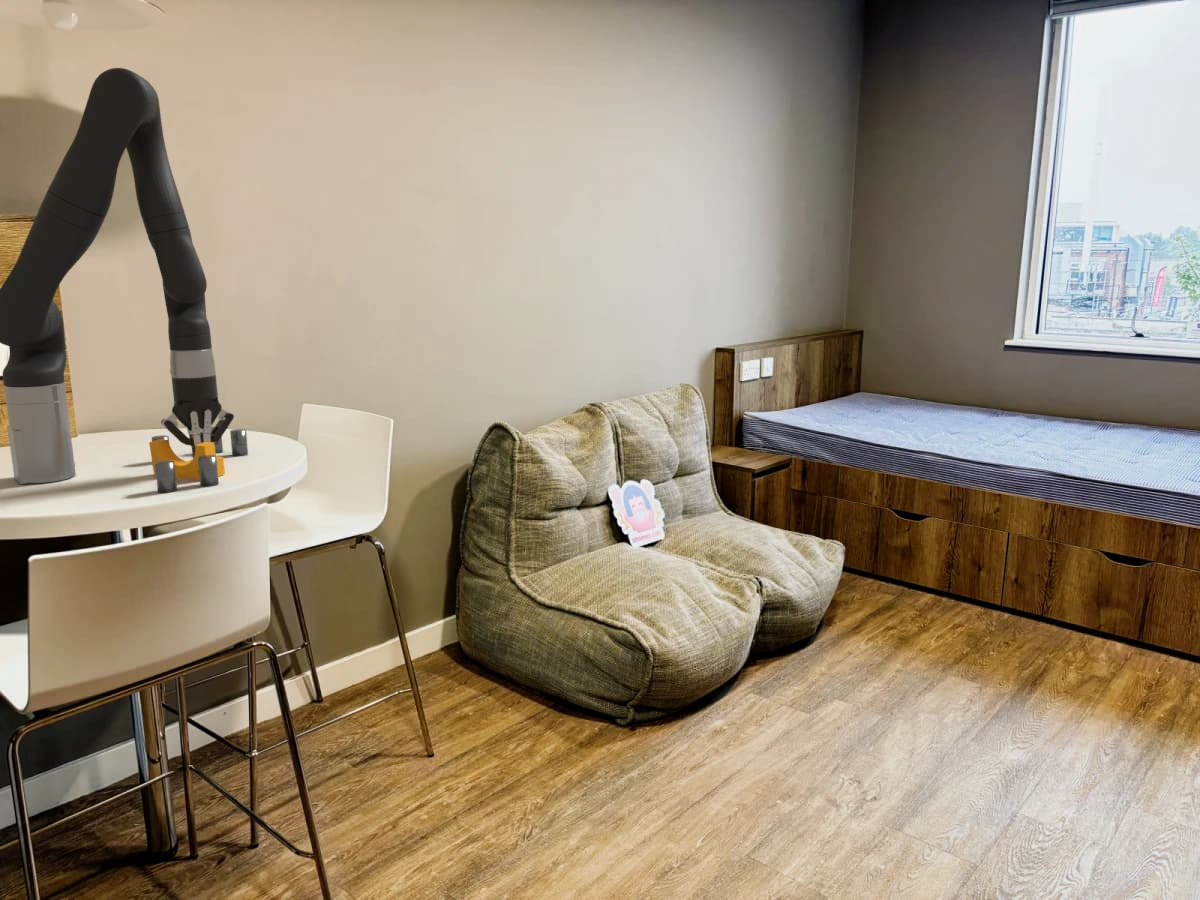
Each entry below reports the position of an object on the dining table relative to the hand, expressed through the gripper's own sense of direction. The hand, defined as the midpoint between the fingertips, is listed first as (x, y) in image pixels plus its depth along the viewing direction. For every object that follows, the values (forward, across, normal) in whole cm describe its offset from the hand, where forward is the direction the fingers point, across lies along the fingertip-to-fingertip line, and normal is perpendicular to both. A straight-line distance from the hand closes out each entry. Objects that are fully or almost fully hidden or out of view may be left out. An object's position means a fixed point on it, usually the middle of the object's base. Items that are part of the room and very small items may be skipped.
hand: (202, 465), depth 170 cm
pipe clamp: (+1, -3, -2) cm, 4 cm away
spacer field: (+1, 0, +2) cm, 2 cm away
